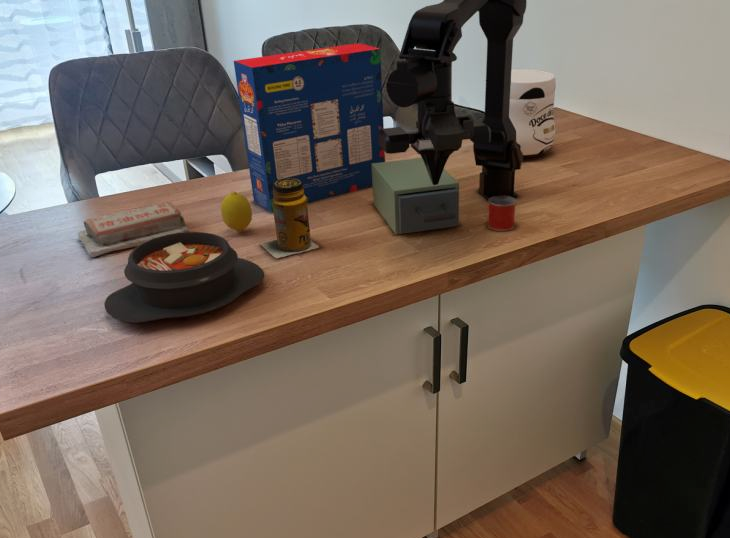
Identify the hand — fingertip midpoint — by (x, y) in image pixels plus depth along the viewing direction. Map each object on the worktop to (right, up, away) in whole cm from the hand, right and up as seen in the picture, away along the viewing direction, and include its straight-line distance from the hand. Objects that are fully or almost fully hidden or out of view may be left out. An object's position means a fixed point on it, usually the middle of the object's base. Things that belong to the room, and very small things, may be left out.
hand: (435, 184), depth 129 cm
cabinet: (-4, -3, +16) cm, 17 cm away
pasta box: (-24, +4, +28) cm, 37 cm away
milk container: (+21, +19, +50) cm, 57 cm away
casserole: (-39, -21, -13) cm, 47 cm away
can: (+13, -6, +11) cm, 18 cm away
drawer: (-2, -4, +11) cm, 13 cm away
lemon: (-37, -7, +10) cm, 39 cm away
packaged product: (-56, -9, +8) cm, 58 cm away
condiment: (-26, -11, +4) cm, 29 cm away
